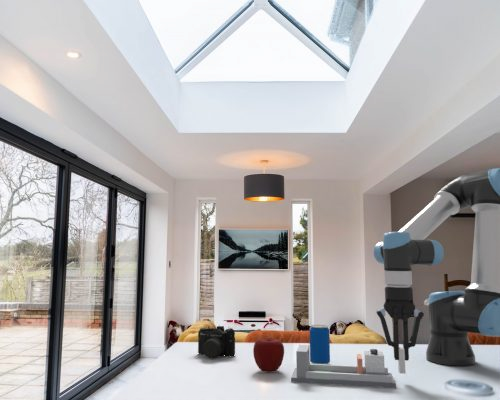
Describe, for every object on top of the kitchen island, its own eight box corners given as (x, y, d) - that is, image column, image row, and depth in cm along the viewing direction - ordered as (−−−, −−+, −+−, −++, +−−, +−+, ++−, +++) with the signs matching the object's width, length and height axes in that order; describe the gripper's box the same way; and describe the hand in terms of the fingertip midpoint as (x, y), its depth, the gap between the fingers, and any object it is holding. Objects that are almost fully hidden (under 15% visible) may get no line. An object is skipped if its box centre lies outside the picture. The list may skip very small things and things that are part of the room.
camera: (188, 358, 151) (188, 328, 152) (202, 352, 161) (202, 324, 162) (225, 361, 146) (225, 330, 148) (237, 355, 156) (237, 326, 158)
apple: (274, 377, 127) (274, 341, 128) (247, 372, 132) (247, 338, 133) (289, 370, 135) (289, 336, 136) (263, 366, 140) (262, 333, 141)
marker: (361, 371, 127) (361, 354, 127) (362, 377, 120) (362, 358, 121) (357, 371, 127) (356, 353, 127) (358, 377, 121) (357, 358, 121)
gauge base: (391, 377, 127) (390, 348, 128) (396, 388, 116) (394, 356, 117) (295, 372, 132) (294, 344, 134) (291, 382, 122) (290, 351, 123)
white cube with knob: (383, 373, 125) (382, 348, 126) (385, 378, 120) (383, 352, 121) (364, 372, 126) (364, 347, 127) (366, 377, 121) (365, 351, 122)
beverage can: (329, 366, 139) (329, 327, 141) (309, 365, 141) (308, 327, 142) (330, 361, 146) (329, 324, 147) (310, 360, 147) (310, 324, 149)
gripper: (420, 285, 127) (424, 370, 124) (373, 285, 130) (376, 367, 126) (425, 287, 120) (429, 377, 117) (375, 286, 122) (378, 374, 119)
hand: (402, 372), depth 121 cm, fingers closed
